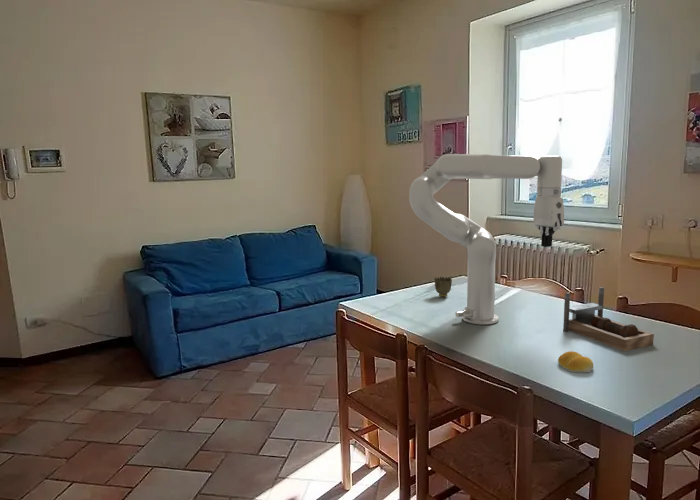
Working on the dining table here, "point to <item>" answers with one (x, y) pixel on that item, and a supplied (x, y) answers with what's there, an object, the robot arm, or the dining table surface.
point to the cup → (443, 285)
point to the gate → (584, 312)
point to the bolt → (614, 327)
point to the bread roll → (575, 362)
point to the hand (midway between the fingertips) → (546, 246)
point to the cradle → (604, 336)
